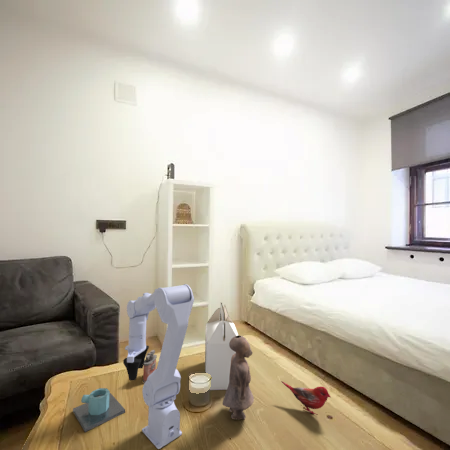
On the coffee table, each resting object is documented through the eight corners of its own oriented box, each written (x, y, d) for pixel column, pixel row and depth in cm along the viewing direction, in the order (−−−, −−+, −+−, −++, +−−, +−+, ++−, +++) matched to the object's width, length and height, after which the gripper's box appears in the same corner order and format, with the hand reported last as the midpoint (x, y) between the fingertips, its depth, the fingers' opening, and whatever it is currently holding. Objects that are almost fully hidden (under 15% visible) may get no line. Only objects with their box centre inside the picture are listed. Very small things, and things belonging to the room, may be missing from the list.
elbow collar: (111, 403, 87) (111, 388, 87) (103, 415, 81) (104, 399, 81) (87, 403, 87) (88, 387, 87) (77, 414, 81) (78, 398, 81)
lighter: (148, 383, 100) (149, 357, 101) (140, 382, 101) (141, 356, 101) (157, 373, 108) (158, 348, 109) (150, 372, 109) (151, 348, 109)
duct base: (125, 412, 84) (125, 396, 84) (85, 432, 76) (85, 414, 76) (110, 395, 93) (110, 381, 93) (72, 411, 84) (73, 395, 84)
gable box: (240, 389, 98) (242, 315, 99) (205, 391, 97) (207, 315, 98) (233, 361, 120) (234, 300, 121) (204, 361, 119) (206, 300, 120)
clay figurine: (258, 427, 79) (259, 344, 80) (226, 431, 77) (228, 346, 78) (247, 400, 92) (248, 329, 92) (219, 403, 90) (220, 330, 91)
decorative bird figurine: (329, 425, 80) (329, 392, 81) (278, 400, 92) (279, 371, 92) (332, 420, 83) (332, 388, 83) (282, 396, 94) (282, 368, 94)
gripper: (132, 326, 98) (131, 363, 97) (118, 342, 83) (116, 385, 83) (151, 326, 98) (150, 363, 98) (140, 342, 84) (138, 385, 83)
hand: (136, 373), depth 90 cm, fingers open, 7 cm apart
